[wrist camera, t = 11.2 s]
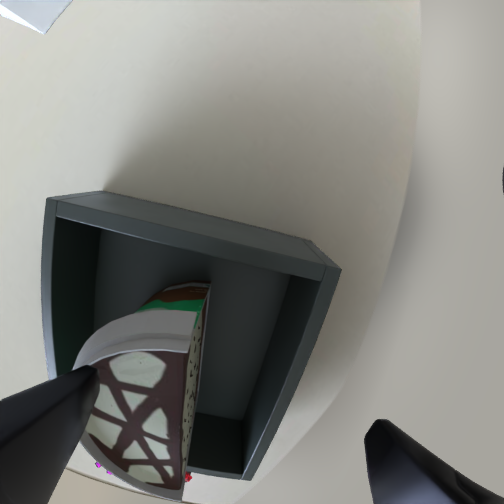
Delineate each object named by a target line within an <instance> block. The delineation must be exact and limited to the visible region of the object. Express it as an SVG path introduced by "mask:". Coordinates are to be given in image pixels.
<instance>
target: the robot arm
mask: <svg viewBox="0 0 504 504" xmlns="http://www.w3.org/2000/svg"><path fill="white" fill-rule="evenodd" d="M99 392H100V377H99V370H98V369H97V368H95V367H93V366H90V365H84V366H81V367H79V368H77V369H74V370H72V371H70V372H67V373H65V374H63V375H60V376H58V377H56V378H53V379H51V380H48V381H46V382H44V383H41V384H39V385H36V386H34V387H32V388H29V389H27V390H24V391H22V392H19V393H17V394H14V395H12V396H9V397H7V398H4V399H2V400H1V401H0V504H47V503H48V502H49V499H50V497H51V495H52V493H53V491H54V489H55V487H56V485H57V483H58V481H59V479H60V477H61V475H62V473H63V471H64V469H65V467H66V465H67V463H68V461H69V459H70V457H71V456H72V454H73V452H74V450H75V448H76V446H77V444H78V442H79V440H80V439H81V437H82V435H83V433H84V431H85V428H86V426H87V423H88V420H89V418H90V415H91V413H92V410H93V408H94V405H95V403H96V400H97V398H98V395H99ZM364 444H365V453H366V462H367V472H368V478H369V483H370V488H371V493H372V498H373V503H374V504H504V498H503V497H501V496H499V495H496V494H495V493H493V492H491V491H489V490H487V489H486V488H484V487H482V486H480V485H478V484H477V483H475V482H473V481H471V480H470V479H468V478H467V477H465V476H464V475H462V474H461V473H460V472H458V471H457V470H455V469H454V468H452V467H451V466H450V465H448V464H447V463H445V462H444V461H443V460H441V459H440V458H438V457H437V456H436V455H434V454H433V453H431V452H430V451H429V450H427V449H426V448H425V447H423V446H422V445H421V444H419V443H418V442H416V441H415V440H414V439H413V438H411V437H410V436H408V435H407V434H406V433H405V432H403V431H402V430H401V429H399V428H398V427H397V426H395V425H394V424H393V423H391V422H390V421H389V420H387V419H377V420H376V421H375V422H374V423H373V425H372V426H371V428H370V429H369V431H368V432H367V433H366V435H365V438H364Z"/></svg>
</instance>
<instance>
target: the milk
mask: <svg viewBox="0 0 504 504" xmlns="http://www.w3.org/2000/svg"><path fill="white" fill-rule="evenodd" d="M71 1H72V0H0V15H1V16H4V17H6V18H9V19H11V20H13V21H16V22H18V23H20V24H23V25H25V26H27V27H30V28H32V29H34V30H36V31H38V32H41V33H43V34H45V33H46V32H47V30H48V29H49V28H50V27H51V25H52V24H53V23H54V21H55V20H56V19H57V18H58V16H59V15H60V14H61V13H62V12H63V10H64V9H65V8H66V7H67V6H68V5H69V3H70V2H71Z"/></svg>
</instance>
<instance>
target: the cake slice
mask: <svg viewBox="0 0 504 504" xmlns="http://www.w3.org/2000/svg"><path fill="white" fill-rule="evenodd" d="M211 282H212V281H203V280H190V281H185V282H180V283H175V284H171V285H169V286H168V287H166V288H164V289H162V290H161V291H159V292H157V293H155V294H154V295H153V296H152V297H151V298H150V299H149V300H148V301H147V302H145V303H144V304H143V305H142V306H141V307H140V308H139V309H138V310H137V311H136V312H135V313H134V314H131V315H127V316H125V317H122V318H119V319H117V320H114V321H111V322H110V323H108V324H107V325H105V326H103V327H102V328H100V329H99V330H97V331H96V332H95V333H94V334H93V335H92V336H91V337H90V338H89V339H88V340H87V341H86V342H85V344H84V345H83V347H82V349H81V350H80V352H79V354H78V356H77V359H76V361H75V364H74V367H73V369H72V370H74V369H77V368H79V367H81V366H84V365H90V366H93V367H95V368H97V369H98V370H99V377H100V392H99V395H98V398H97V400H96V403H95V405H94V408H93V410H92V413H91V415H90V418H89V420H88V423H87V426H86V428H85V431H84V433H83V435H82V437H81V439H80V440H79V441H80V443H81V444H82V446H83V447H84V448H85V449H86V451H87V452H88V453H89V454H90V455H91V456H92V457H93V458H94V459H95V460H96V461H97V462H98V463H99V464H100V465H101V466H102V467H104V468H105V469H106V470H107V471H109V472H110V473H111V474H113V475H114V476H116V477H117V478H119V479H121V480H122V481H124V482H126V483H127V484H129V485H131V486H133V487H135V488H137V489H140V490H142V491H144V492H147V493H149V494H152V495H155V496H158V497H162V498H165V499H169V500H174V501H178V502H181V501H182V496H183V490H184V484H185V474H186V468H187V461H188V454H189V448H190V442H191V435H192V429H193V423H194V417H195V411H196V405H197V399H198V393H199V385H200V375H201V366H202V356H203V347H204V338H205V330H206V321H207V313H208V305H209V297H210V289H211Z"/></svg>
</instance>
